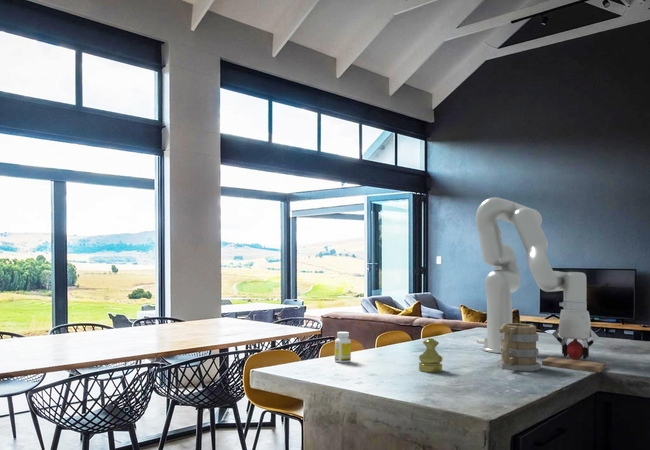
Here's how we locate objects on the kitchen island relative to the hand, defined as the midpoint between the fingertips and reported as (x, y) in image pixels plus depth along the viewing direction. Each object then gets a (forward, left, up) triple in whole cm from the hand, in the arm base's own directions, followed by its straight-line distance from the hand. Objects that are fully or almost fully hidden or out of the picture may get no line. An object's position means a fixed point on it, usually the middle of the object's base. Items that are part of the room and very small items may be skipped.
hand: (575, 356), depth 198 cm
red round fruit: (0, 0, -2) cm, 2 cm away
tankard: (-12, -30, -2) cm, 32 cm away
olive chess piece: (-32, -51, -2) cm, 60 cm away
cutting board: (+2, -12, -1) cm, 12 cm away
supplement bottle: (-61, -58, -2) cm, 84 cm away
